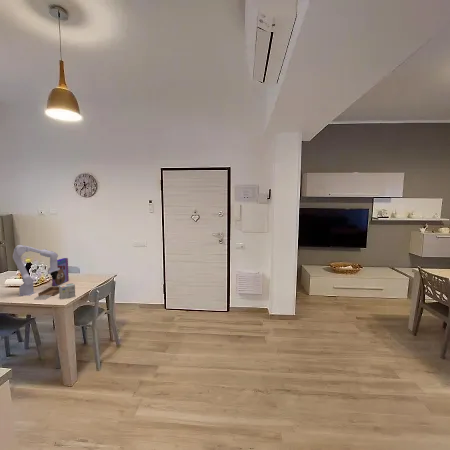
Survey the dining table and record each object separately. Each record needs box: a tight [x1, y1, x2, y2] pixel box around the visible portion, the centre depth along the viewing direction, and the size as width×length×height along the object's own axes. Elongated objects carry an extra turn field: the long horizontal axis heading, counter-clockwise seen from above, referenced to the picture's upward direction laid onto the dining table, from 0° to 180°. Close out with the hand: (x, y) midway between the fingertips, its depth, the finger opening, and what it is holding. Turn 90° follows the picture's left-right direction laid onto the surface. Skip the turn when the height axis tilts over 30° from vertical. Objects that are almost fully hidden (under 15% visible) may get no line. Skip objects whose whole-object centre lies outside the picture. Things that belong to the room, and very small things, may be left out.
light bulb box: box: [58, 282, 76, 300], centre depth 224 cm, size 11×7×11 cm, turn 141°
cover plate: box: [33, 295, 52, 301], centre depth 221 cm, size 9×8×2 cm
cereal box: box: [51, 257, 70, 287], centre depth 261 cm, size 17×5×24 cm, turn 178°
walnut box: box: [38, 286, 59, 297], centre depth 233 cm, size 13×17×3 cm
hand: (54, 279), depth 243 cm, fingers closed
